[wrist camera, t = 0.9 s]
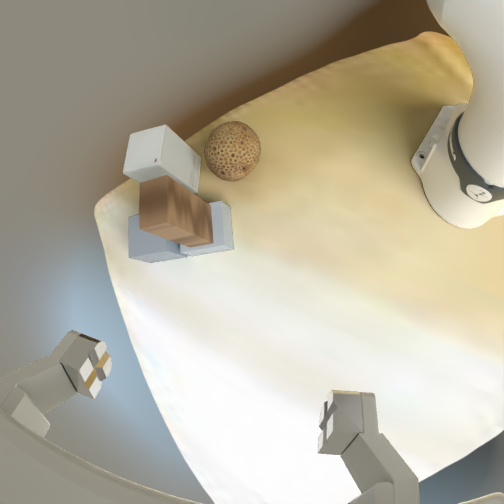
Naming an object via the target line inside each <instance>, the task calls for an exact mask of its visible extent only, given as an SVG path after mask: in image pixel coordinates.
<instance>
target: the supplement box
mask: <svg viewBox="0 0 504 504" xmlns="http://www.w3.org/2000/svg"><path fill="white" fill-rule="evenodd" d="M200 168H201V157H200V156H199V155H198V154H197V153H196V152H195V151H194V150H193V149H192V148H191V147H190V146H189V145H187V144H186V143H185V142H184V141H183V140H182V139H181V138H180V137H179V136H178V135H176V133H174V132H173V131H172V130H171V129H170V128H169V127H168V126H167V125H162V126H158V127H154V128H150V129H146V130H143V131H139V132H136V133H132V134H131V135H130V138H129V143H128V148H127V154H126V159H125V163H124V168H123V174H125V175H127V176H128V177H130V178H132V179H134V180H136V181H137V182H139V183H142V182H145V181H148V180H151V179H154V178H157V177H161V176H164V175H168V176H170V177H171V178H172V179H174V180H175V181H177V182H178V183H180V184H181V185H182V186H184V187H185V188H187V189H188V190H190V191H191V192H192V193H194V194H197V193H198V188H199V178H200Z"/></svg>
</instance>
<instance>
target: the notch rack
mask: <svg viewBox="0 0 504 504" xmlns="http://www.w3.org/2000/svg"><path fill="white" fill-rule="evenodd" d="M208 204H209V205H211V214H212V228H213V242H214V243H213V244H207V245H201V246H196V247H187V246H184V245H182V244H179V243H176V242H173V241H171V240H168V239H165V238H162V237H160V236H157V235H154V234H151V233H149V232H146V231H143V230H140V229H139V214H137V215H134V216H130V217H129V258H132V259H136V260H141V261H145V262H150V263H154V262H160V261H166V260H172V259H178V258H184V257H187V255H190V256H196V255H203V254H209V253H215V252H221V251H227V250H234V243H233V232H232V220H231V208H230V207H229V206H228V205H226V204H225V203H224V202H223V201H217V202H212V203H208Z"/></svg>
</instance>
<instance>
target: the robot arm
mask: <svg viewBox="0 0 504 504" xmlns="http://www.w3.org/2000/svg"><path fill="white" fill-rule="evenodd" d="M426 1H427V4H428V6H429V8H430V10H431V12H432V14H433V15H434V17H435V19H436V20H437V22H438V23H439V25H440V26H441V27H442V28H443V29H444V30H445V31H446V32H447V33H448V34H449V35H450V36H451V37H452V39H453V40H454V41H455V42H456V44H457V45H458V46H459V48H460V49H461V51H462V53H463V54H464V56H465V58H466V60H467V62H468V64H469V67H470V70H471V73H472V77H473V89H472V93H471V96H470V99H469V102H468V104H467V103H458V104H457V105H456V106H450V105H447V106H443V107H442V109H441V111H440V112H439V114H438V116H437V117H436V119H435V121H434V123H433V124H432V126H431V128H430V130H429V131H428V133H427V135H426V136H425V138H424V140H423V141H422V143H421V145H420V146H419V148H418V150H417V151H416V153H415V155H414V156H413V158H412V160H411V164H412V167H413V168H414V170H415V171H416V173H417V174H418V175H419V177H420V178H421V181H422V184H423V188H424V191H425V194H426V197H427V199H428V201H429V203H430V204H431V206H432V207H433V209H434V210H435V211H436V212H437V214H438V215H439V216H441V217H442V218H443V219H444V220H445V221H447V222H448V223H450V224H452V225H454V226H457V227H460V228H476V227H479V226H481V225H483V224H484V223H486V222H487V221H488V220H489V219H491V218H492V217H498V216H502V215H504V0H426ZM420 156H423V159H422V158H420ZM106 349H107V346H106V344H105V342H103V341H100V340H97V339H95V338H92V337H89V336H87V335H84V334H82V333H79V332H76V331H74V330H71V331H69V332H68V333H67V335H66V336H65V337H64V338H63V339H62V341H61V342H60V343H59V345H58V346H57V347H56V348H55V350H54V351H53V352H52V353H51V355H50V356H49V357H47V356H46V357H43V358H41V359H39V360H36V361H34V362H32V363H30V364H28V365H26V366H23V367H21V368H19V369H16V370H14V371H12V372H10V373H8V374H5V375H3V376H2V377H1V379H0V504H202V503H198V502H194V501H190V500H187V499H183V498H179V497H176V496H173V495H169V494H166V493H163V492H160V491H157V490H154V489H151V488H148V487H145V486H143V485H140V484H137V483H134V482H132V481H129V480H127V479H124V478H122V477H120V476H117V475H115V474H112V473H110V472H108V471H106V470H103V469H101V468H99V467H97V466H95V465H93V464H91V463H89V462H86V461H85V460H82V459H80V458H79V457H77V456H75V455H73V454H71V453H69V452H67V451H65V450H64V449H62V448H60V447H58V446H57V445H55V444H53V443H51V442H50V441H48V440H46V439H45V438H44V436H45V434H46V433H47V431H48V429H49V427H50V423H49V422H48V421H47V419H46V418H45V417H44V416H43V414H46V413H47V412H49V411H50V410H52V409H53V408H55V407H57V406H58V405H60V404H61V403H63V402H64V401H66V400H67V399H69V398H70V397H72V396H73V395H75V394H77V392H78V393H80V394H83V395H85V396H88V397H90V398H93V399H95V397H96V395H97V394H98V392H99V390H100V389H101V387H102V385H101V381H102V380H104V379H106V378H107V377H108V375H109V373H110V371H111V367H112V361H111V358H110V355H109V354H108V353H107V352H106ZM319 427H320V428H321V430H322V432H321V434H320V436H319V438H318V453H321V454H333V455H341V458H342V459H343V461H344V463H345V465H346V467H347V468H348V470H349V472H350V474H351V475H352V477H353V479H354V481H355V482H356V484H357V486H358V488H359V489H360V491H361V493H362V494H361V495H359V496H358V497H356V498H355V499H353V500H352V501H350V502H349V503H348V504H420V501H419V485H418V478H417V477H416V475H415V474H414V473H413V472H412V470H411V469H410V468H409V466H408V465H407V464H406V463H405V461H404V460H403V459H402V458H401V456H400V455H399V454H398V452H397V451H396V450H395V449H394V447H393V446H392V445H391V444H390V442H389V441H388V440H387V438H386V437H385V436H384V435H383V434H380V433H379V429H378V418H377V408H376V399H375V395H374V393H365V392H355V391H340V390H331V391H330V392H329V394H328V401H326V402H324V404H323V407H322V410H321V414H320V421H319ZM459 504H504V494H503V493H499V492H497V493H493V494H489V495H487V496H483V497H480V498H477V499H474V500H470V501H466V502H463V503H459Z"/></svg>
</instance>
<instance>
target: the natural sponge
mask: <svg viewBox="0 0 504 504" xmlns="http://www.w3.org/2000/svg"><path fill="white" fill-rule="evenodd" d="M260 151H261V147H260V141H259V138H258V136H257V134H256V133H255V132H254V131H253V130H252V129H251V128H250V127H249V126H248V125H246V124H244V123H242V122H238V121H232V122H227V123H224V124H222V125H220V126H218V127H217V128H216V129H215V130H214V131H213V133H212V134H211V135H210V137H209V139H208V142H207V144H206V146H205V151H204V154H205V160H206V163H207V165H208V167H209V168H210V169H211V171H212V172H213V173H214V174H215V175H216V176H218V177H219V178H221V179H223V180H228V181H238V180H240V179H242V178H244V177H245V176H246V175H247V174H248V173H249V172H251V171H252V170H253V169H254V167H255V166H256V165H257V163H258V161H259V158H260Z"/></svg>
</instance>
